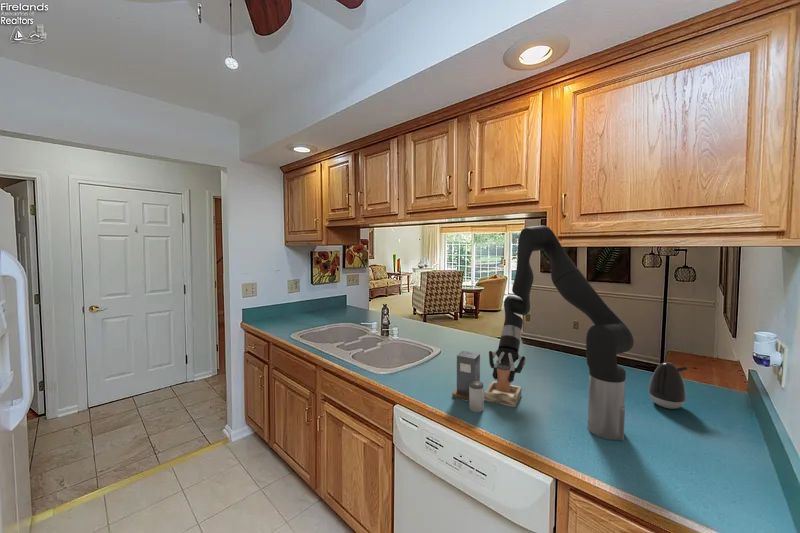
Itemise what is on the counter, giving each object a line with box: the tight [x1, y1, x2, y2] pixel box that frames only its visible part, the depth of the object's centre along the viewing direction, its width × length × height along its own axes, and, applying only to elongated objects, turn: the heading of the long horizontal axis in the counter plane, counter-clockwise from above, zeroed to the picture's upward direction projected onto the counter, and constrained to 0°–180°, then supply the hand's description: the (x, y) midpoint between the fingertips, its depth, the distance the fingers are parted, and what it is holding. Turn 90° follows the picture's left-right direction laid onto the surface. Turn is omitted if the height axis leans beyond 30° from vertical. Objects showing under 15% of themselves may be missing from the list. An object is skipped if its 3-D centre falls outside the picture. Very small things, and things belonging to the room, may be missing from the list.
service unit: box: [451, 350, 485, 402], centre depth 124 cm, size 9×10×16 cm
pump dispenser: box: [648, 361, 688, 410], centre depth 115 cm, size 10×10×15 cm
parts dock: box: [483, 380, 522, 408], centre depth 122 cm, size 11×11×3 cm
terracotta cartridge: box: [496, 363, 511, 392], centre depth 122 cm, size 5×5×9 cm
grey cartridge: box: [468, 380, 485, 413], centre depth 114 cm, size 5×5×9 cm
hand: (502, 380), depth 121 cm, fingers closed on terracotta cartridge, 4 cm apart
